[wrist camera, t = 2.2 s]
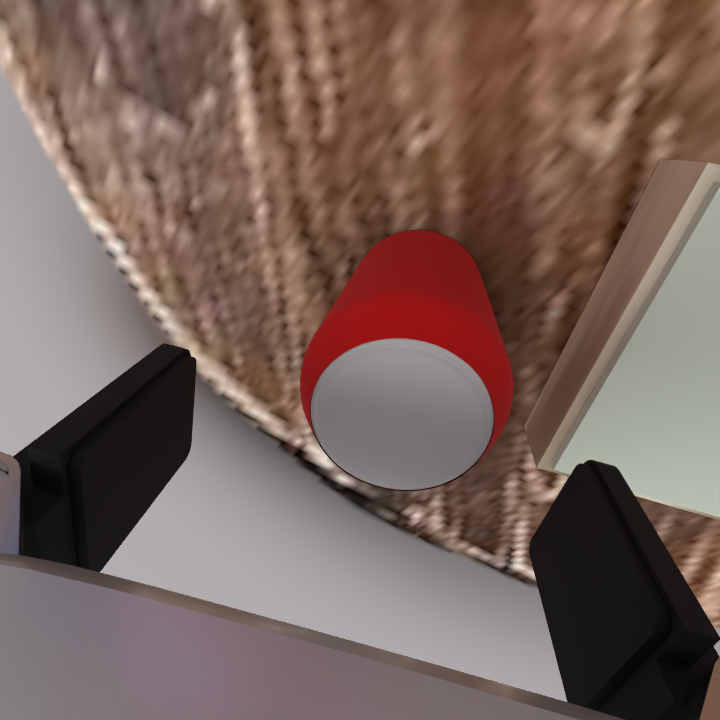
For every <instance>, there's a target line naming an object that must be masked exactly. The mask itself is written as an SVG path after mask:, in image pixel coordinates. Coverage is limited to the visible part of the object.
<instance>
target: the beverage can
mask: <svg viewBox="0 0 720 720" xmlns="http://www.w3.org/2000/svg"><path fill="white" fill-rule="evenodd" d="M300 392H301V400H302V405H303V409H304V413H305V415H306V418H307V421H308V423H309V425H310V427H311V429H312V431H313V433H314V435H315V437H316V439H317V441H318V443H319V445H320V446H321V448H322V450H323V451H324V452H325V454H326V455H327V456H328V457H329V458H330V459H331V460H332V462H333V463H335V464H336V465H337V466H338V467H339V468H340V469H342V470H343V471H344V472H346V473H347V474H349V475H351V476H352V477H354V478H356V479H358V480H360V481H362V482H364V483H367V484H369V485H372V486H376V487H379V488H383V489H389V490H396V491H418V490H425V489H431V488H435V487H438V486H441V485H444V484H447V483H449V482H451V481H453V480H455V479H457V478H459V477H460V476H462V475H463V474H465V473H466V472H468V471H469V470H470V469H471V468H472V467H473V466H474V465H475V464H476V463H477V462H478V461H479V460H480V459H481V458H482V457H483V456H484V455H485V454H486V453H487V452H488V450H489V449H490V448H491V447H492V446H493V445H494V443H495V442H496V440H497V439H498V438H499V436H500V434H501V432H502V431H503V429H504V427H505V424H506V422H507V419H508V417H509V413H510V409H511V406H512V399H513V375H512V369H511V365H510V361H509V357H508V354H507V351H506V349H505V346H504V343H503V340H502V337H501V334H500V331H499V328H498V325H497V322H496V319H495V316H494V313H493V310H492V307H491V304H490V301H489V298H488V295H487V292H486V289H485V286H484V283H483V280H482V277H481V274H480V272H479V269H478V267H477V265H476V263H475V261H474V259H473V258H472V257H471V255H470V254H469V253H468V252H467V250H466V249H465V248H463V247H462V246H461V245H460V244H459V243H457V242H456V241H455V240H453V239H451V238H449V237H447V236H445V235H443V234H440V233H436V232H432V231H426V230H411V231H405V232H400V233H397V234H394V235H392V236H390V237H387V238H385V239H384V240H382V241H381V242H379V243H378V244H376V245H375V246H374V247H373V248H372V249H371V250H370V251H369V252H368V253H367V254H366V255H365V256H364V258H363V259H362V261H361V262H360V264H359V265H358V267H357V268H356V270H355V272H354V273H353V275H352V276H351V278H350V280H349V281H348V283H347V284H346V286H345V287H344V289H343V291H342V292H341V294H340V295H339V297H338V299H337V300H336V302H335V303H334V305H333V306H332V308H331V310H330V311H329V313H328V314H327V316H326V318H325V319H324V321H323V322H322V324H321V325H320V327H319V329H318V330H317V332H316V333H315V335H314V337H313V338H312V340H311V342H310V344H309V346H308V348H307V351H306V354H305V356H304V360H303V364H302V369H301V378H300Z"/></svg>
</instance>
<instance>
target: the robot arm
mask: <svg viewBox="0 0 720 720" xmlns="http://www.w3.org/2000/svg"><path fill="white" fill-rule="evenodd" d="M195 378H196V359H195V358H194V357H191V354H190V351H189V350H188V349H184V348H180V347H177V346H173V345H169V344H162V345H160V346H159V347H158V348H156V349H155V350H154V351H152V352H151V353H150V354H148V355H147V356H146V357H144V358H143V359H142V360H140V361H139V362H138V363H137V364H135V365H134V366H132V367H131V368H130V369H128V370H127V371H126V372H124V373H123V374H122V375H120V376H119V377H118V378H117V379H115V380H114V381H113V382H111V383H110V384H109V385H107V386H106V387H105V388H103V389H102V390H101V391H99V392H98V393H97V394H95V395H94V396H93V397H91V398H90V399H89V400H87V401H86V402H85V403H83V404H82V405H81V406H79V407H78V408H77V409H75V410H74V411H73V412H71V413H70V414H69V415H68V416H66V417H65V418H64V419H62V420H61V421H60V422H58V423H57V424H56V425H54V426H53V427H52V428H51V429H49V430H48V431H46V432H45V433H44V434H42V435H41V436H40V437H39V438H37V439H36V440H34V441H33V442H32V443H31V444H29V445H28V446H27V447H25V448H24V449H23V450H21V451H20V452H19V453H17V454H16V455H15V456H13V457H12V456H11V455H8V454H5V453H3V452H0V720H720V657H719V655H718V654H717V652H716V650H715V649H714V647H713V646H714V645H715V644H716V643H717V642H718V641H719V640H720V637H719V636H718V634H717V632H716V630H715V629H714V627H713V625H712V624H711V622H710V620H709V619H708V617H707V615H706V614H705V612H704V610H703V609H702V607H701V605H700V604H699V602H698V600H697V599H696V597H695V595H694V594H693V592H692V590H691V589H690V587H689V585H688V584H687V582H686V580H685V579H684V577H683V575H682V574H681V572H680V570H679V569H678V567H677V565H676V564H675V562H674V560H673V559H672V557H671V555H670V554H669V552H668V550H667V549H666V547H665V545H664V544H663V542H662V540H661V539H660V537H659V535H658V534H657V532H656V530H655V529H654V527H653V525H652V524H651V522H650V521H649V519H648V517H647V516H646V514H645V512H644V511H643V509H642V507H641V506H640V504H639V502H638V501H637V499H636V497H635V496H634V494H633V492H632V491H631V489H630V487H629V486H628V484H627V482H626V481H625V479H624V477H623V476H622V474H621V472H620V471H619V469H618V468H617V467H615V466H613V465H609V464H606V463H602V462H598V461H595V460H587V461H586V462H585V463H584V464H582V463H580V464H578V465H577V466H576V467H575V468H574V470H573V471H572V473H571V475H570V476H569V478H568V480H567V481H566V483H565V485H564V486H563V488H562V490H561V491H560V493H559V494H558V496H557V498H556V499H555V501H554V503H553V504H552V506H551V508H550V509H549V511H548V513H547V514H546V516H545V518H544V519H543V521H542V522H541V524H540V526H539V527H538V529H537V531H536V532H535V534H534V536H533V537H532V539H531V542H530V547H529V553H530V558H531V562H532V566H533V570H534V574H535V577H536V581H537V585H538V589H539V593H540V597H541V601H542V605H543V608H544V612H545V616H546V620H547V624H548V628H549V632H550V636H551V640H552V643H553V647H554V651H555V655H556V659H557V663H558V667H559V671H560V674H561V678H562V682H563V686H564V690H565V694H566V698H567V701H568V702H564V701H561V700H557V699H554V698H550V697H547V696H543V695H540V694H536V693H533V692H529V691H526V690H522V689H519V688H515V687H512V686H508V685H505V684H502V683H498V682H495V681H491V680H487V679H484V678H481V677H477V676H474V675H470V674H467V673H463V672H460V671H456V670H452V669H449V668H446V667H442V666H439V665H435V664H432V663H428V662H424V661H421V660H417V659H413V658H410V657H407V656H403V655H399V654H396V653H392V652H389V651H385V650H382V649H378V648H375V647H371V646H368V645H364V644H360V643H356V642H353V641H350V640H346V639H343V638H339V637H335V636H332V635H328V634H325V633H321V632H318V631H314V630H311V629H307V628H303V627H300V626H296V625H292V624H289V623H286V622H281V621H278V620H274V619H271V618H267V617H264V616H260V615H256V614H253V613H249V612H245V611H241V610H238V609H235V608H231V607H227V606H224V605H220V604H216V603H213V602H209V601H205V600H202V599H198V598H195V597H191V596H187V595H184V594H180V593H176V592H173V591H169V590H165V589H162V588H158V587H154V586H150V585H146V584H143V583H139V582H135V581H131V580H127V579H123V578H119V577H115V576H111V575H107V574H104V573H100V571H101V570H102V569H103V567H104V566H105V565H106V563H107V562H108V561H109V560H110V558H111V557H112V555H113V554H114V553H115V551H116V550H117V549H118V548H119V546H120V545H121V544H122V542H123V541H124V540H125V539H126V537H127V536H128V535H129V533H130V532H131V531H132V529H133V528H134V527H135V525H136V524H137V523H138V521H139V520H140V519H141V517H142V516H143V515H144V514H145V512H146V511H147V509H148V508H149V507H150V506H151V504H152V503H153V502H154V500H155V499H156V498H157V496H158V495H159V494H160V493H161V491H162V490H163V489H164V487H165V486H166V485H167V483H168V482H169V481H170V479H171V478H172V477H173V475H174V474H175V472H176V471H177V470H178V469H179V468H180V466H181V465H182V464H183V462H184V461H185V460H186V458H187V456H188V454H189V452H190V448H191V441H192V425H193V410H194V394H195Z"/></svg>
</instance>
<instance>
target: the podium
mask: <svg viewBox="0 0 720 720" xmlns="http://www.w3.org/2000/svg"><path fill="white" fill-rule="evenodd" d="M524 428H525V432H526V435H527V438H528V441H529V445H530V448H531V451H532V454H533V458H534V461H535V464H536V467H537V468H540V469H543V470H547V471H550V472H554V473H557V474H561V475H564V476H568V477H569V476H570V475H571V473H572V471H573V470H574V468H575V467H576V466H577V465H578V464H580V463H582V464H584V463H585V462H586V461H587V460H595V461H598V462H602V463H606V464H609V465H613V466H615V467H617V468H618V469H619V471H620V472H621V474H622V476H623V477H624V479H625V481H626V482H627V484H628V486H629V487H630V489H631V491H632V492H633V494H634V496H638V497H641V498H645V499H648V500H652V501H655V502H659V503H662V504H665V505H669V506H672V507H676V508H679V509H683V510H686V511H690V512H693V513H697V514H700V515H704V516H707V517H711V518H714V519H718V520H720V165H717V164H713V163H709V162H697V161H684V160H670V159H661V160H660V162H659V164H658V166H657V168H656V170H655V171H654V173H653V175H652V177H651V179H650V181H649V183H648V185H647V187H646V189H645V191H644V193H643V195H642V197H641V199H640V201H639V203H638V205H637V207H636V209H635V210H634V212H633V214H632V216H631V218H630V220H629V222H628V224H627V226H626V228H625V230H624V232H623V234H622V236H621V238H620V240H619V242H618V244H617V246H616V248H615V249H614V251H613V253H612V255H611V257H610V259H609V261H608V263H607V265H606V267H605V269H604V271H603V273H602V275H601V277H600V279H599V281H598V283H597V285H596V287H595V289H594V290H593V292H592V294H591V296H590V298H589V300H588V302H587V304H586V306H585V308H584V310H583V312H582V314H581V316H580V318H579V320H578V322H577V324H576V326H575V328H574V329H573V331H572V333H571V335H570V337H569V339H568V341H567V343H566V345H565V347H564V349H563V351H562V353H561V355H560V357H559V359H558V361H557V363H556V365H555V367H554V368H553V370H552V372H551V374H550V376H549V378H548V380H547V382H546V384H545V386H544V388H543V390H542V392H541V394H540V396H539V398H538V400H537V402H536V404H535V406H534V407H533V409H532V411H531V413H530V415H529V417H528V419H527V421H526V423H525V425H524Z"/></svg>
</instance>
